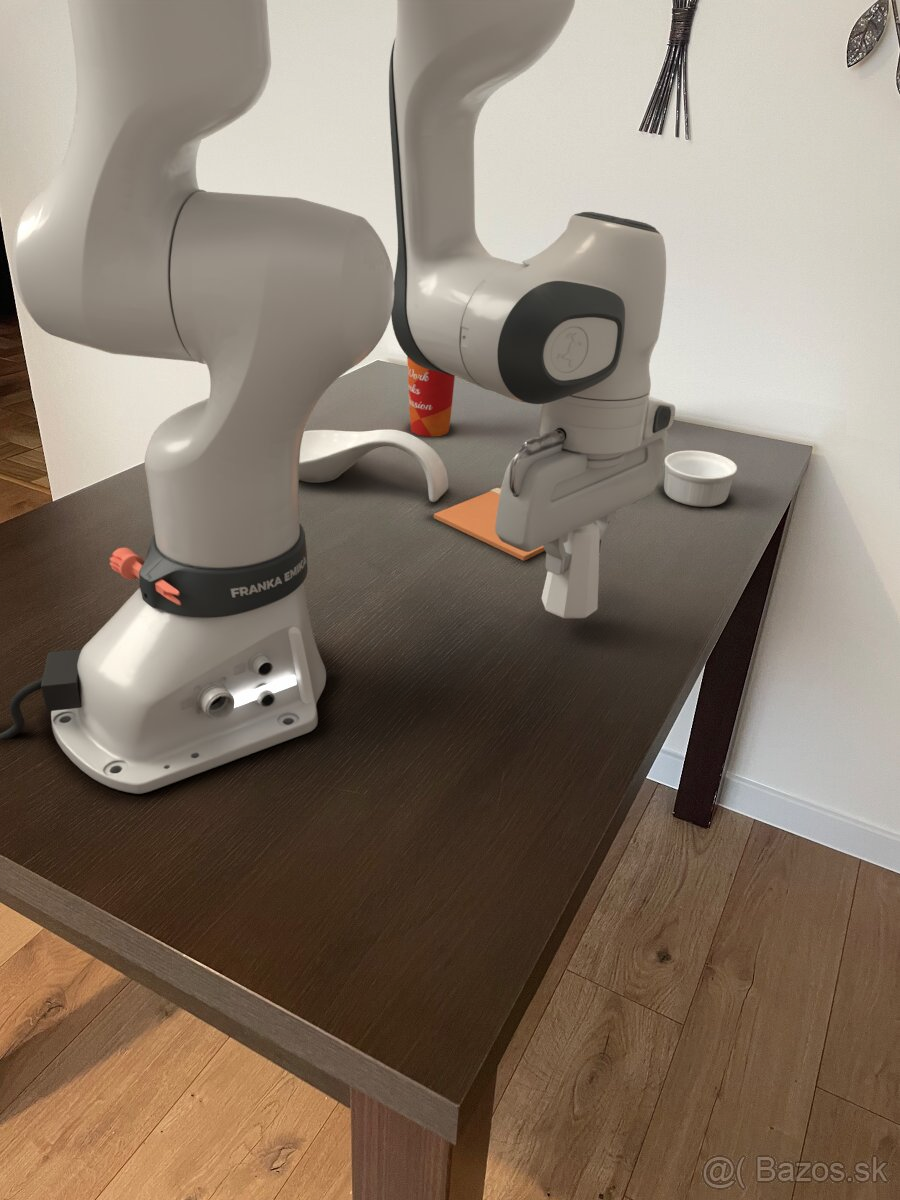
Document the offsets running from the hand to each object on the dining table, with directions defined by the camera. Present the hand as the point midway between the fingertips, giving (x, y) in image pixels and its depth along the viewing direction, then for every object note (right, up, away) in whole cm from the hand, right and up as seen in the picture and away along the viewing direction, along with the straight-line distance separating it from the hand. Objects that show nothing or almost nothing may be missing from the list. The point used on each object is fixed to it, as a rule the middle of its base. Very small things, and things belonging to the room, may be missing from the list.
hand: (574, 562), depth 85 cm
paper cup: (-14, +21, +48) cm, 54 cm away
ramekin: (+20, +10, +32) cm, 39 cm away
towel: (-4, +5, +23) cm, 24 cm away
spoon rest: (-23, +11, +31) cm, 41 cm away
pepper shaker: (0, -4, +2) cm, 5 cm away
